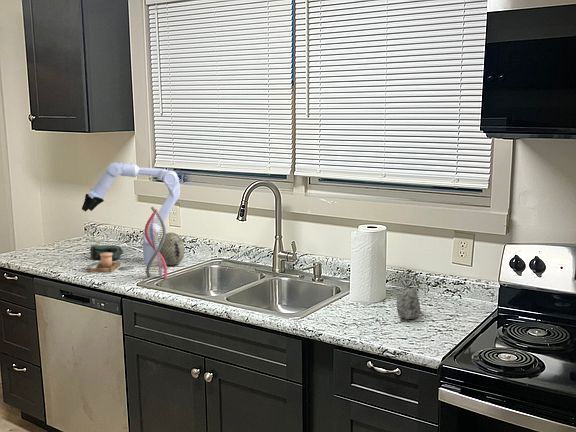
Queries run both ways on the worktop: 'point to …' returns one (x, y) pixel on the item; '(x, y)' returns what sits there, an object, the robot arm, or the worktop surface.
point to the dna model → (150, 220)
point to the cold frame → (97, 268)
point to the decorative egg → (172, 249)
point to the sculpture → (105, 248)
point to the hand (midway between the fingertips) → (86, 209)
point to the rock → (408, 304)
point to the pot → (106, 259)
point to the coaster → (126, 268)
